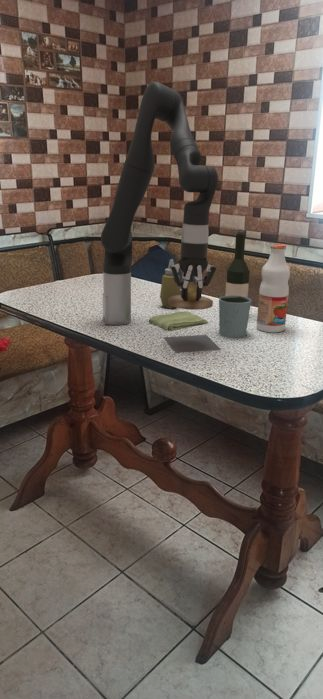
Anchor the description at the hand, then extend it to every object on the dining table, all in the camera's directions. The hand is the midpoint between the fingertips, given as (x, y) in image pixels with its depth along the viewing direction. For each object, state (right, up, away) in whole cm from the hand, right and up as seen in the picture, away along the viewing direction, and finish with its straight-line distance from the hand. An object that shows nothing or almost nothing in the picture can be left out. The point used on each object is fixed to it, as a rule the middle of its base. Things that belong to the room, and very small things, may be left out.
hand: (190, 299), depth 154 cm
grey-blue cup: (+14, -10, +16) cm, 23 cm away
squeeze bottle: (-5, +2, +47) cm, 47 cm away
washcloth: (-3, -7, +26) cm, 27 cm away
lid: (0, -1, 0) cm, 1 cm away
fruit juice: (+28, -8, +23) cm, 37 cm away
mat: (+1, -13, +5) cm, 14 cm away
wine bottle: (+18, -3, +37) cm, 41 cm away
